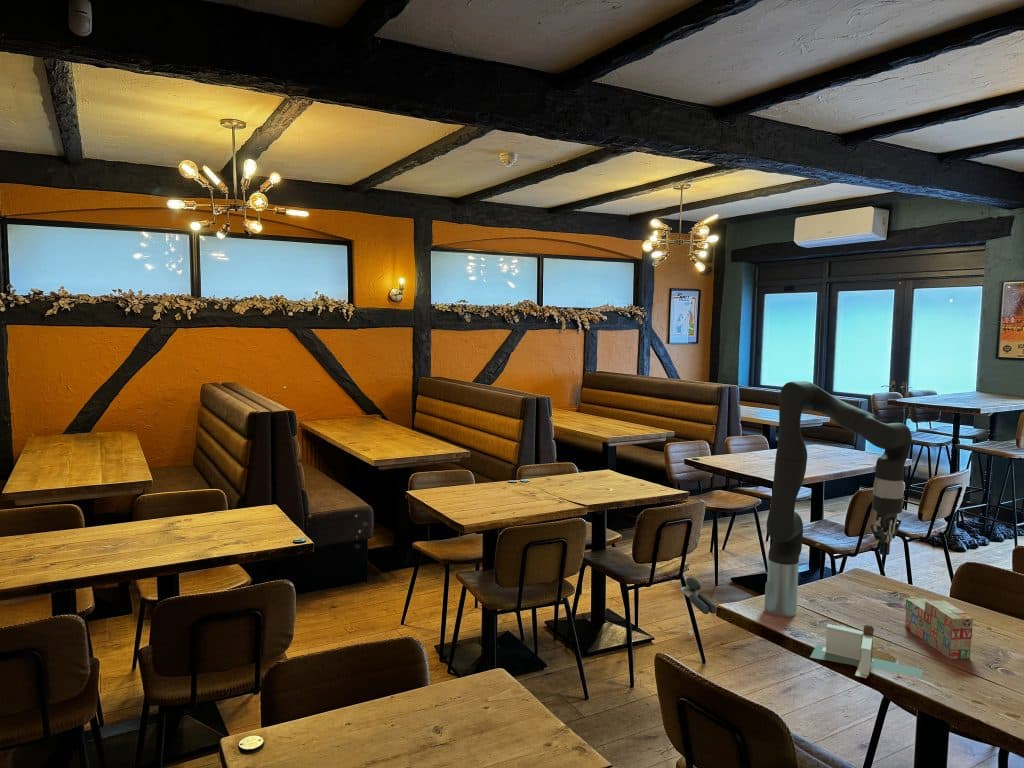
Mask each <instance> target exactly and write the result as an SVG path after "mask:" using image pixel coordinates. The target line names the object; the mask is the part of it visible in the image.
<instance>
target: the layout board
mask: <svg viewBox="0 0 1024 768" xmlns="http://www.w3.org/2000/svg"><path fill="white" fill-rule="evenodd" d="M809 658H811V659H817V660H823V661H829V662H834V663H838V664H846V665H852V666H856V667H857V669H856V671H855V674H854V676H856V677H860V678H864V679H867V677H868V676H867V675H863V674H860V670H861V660H860V659H856V658H852V657H848V656H843V655H839V654H835V653H831V652H827V651H826V645H822V644H816V645H815V647H814V649H813V651H812V653H811V655H810V657H809ZM870 669H874V670H878V671H879V670H880V671H886V672H891V673H897V674H902V675H908V676H913V677H919V678H922V677H923V674H924V669H920V668H917V667H913V666H909V665H905V664H900V663H898V662H894V661H893V662H892V661H888V660H884V659H880V658H876V657H872V661H871V663H870Z"/></svg>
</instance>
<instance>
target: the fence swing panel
mask: <svg viewBox="0 0 1024 768" xmlns="http://www.w3.org/2000/svg"><path fill="white" fill-rule="evenodd" d="M872 640H873V641H874V635H873V636H868V635H863V639H862V646H861V651H862V653H861V670H860V674H863V675H867V677H868V676H869V675H870V669H871V668H870V663H871V647H872Z"/></svg>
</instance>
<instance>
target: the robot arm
mask: <svg viewBox="0 0 1024 768" xmlns="http://www.w3.org/2000/svg"><path fill="white" fill-rule="evenodd" d="M778 401H779V402H778V406H779V407H778V411H779V414H778V416H779V418H778V419H779V420H778V421H779V422H778V433H777V434H778V435H777V447H776V452H775V459H774V460H775V461H774V472H773V474H774V475H773V482H772V483H773V484H772V485H773V486H772V494H771V501H770V505H769V511H768V515H767V518H766V519H767V520H766V524H765V525H766V532H767V534H768V535H769V537H770V538H771V540H772V544H771V546H770V547H769V550H768V555H767V556H768V558H767V559H768V560H767V578H766V579H767V581H766V582H765V584H764V585H765V587H764V607H763V609H764V612H767V613H768V614H770V615H774V616H776V617H780V618H781V617H782V618H791V617H795V616H796V615H797V608H798V605H797V604H798V588H799V587H798V586H799V585H798V584H799V563H800V556H801V552H802V548H803V536H804V523H803V520H802V517H801V515H800V514H798V512H797V511H795V508H796V501H797V498H798V495H799V492H800V490H801V487H802V485H803V483H804V481H805V480H804V479H805V476H806V471H807V464H808V463H807V462H808V451H807V446H806V442H805V441H804V438H803V435H802V432H801V417H802V413H803V412H805V411H812V412H816V413H821V414H823V415H825V416H827V417H829V418H830V419H832V421H834V422H835V424H837V425H838V426H840V427H841V428H843V429H845V430H847V431H849V432H852V433H854V434H856V435H858V436H861V437H862V438H863V439H865V441H867V442H869V443H870V444H871V445H872V446H875V447H877V448H879V449H882V450H884V452H883V454H882V455H881V456H879V457H878V458H877V459H876V463H875V474H874V475H875V476H874V482H873V490H872V501H871V502H872V503H871V509H873V511H876V516H875V523H872V524H871V525H870V529H871V532H872V534H873V537H874V540H876V541H879V549H878V554H879V555H882V556H889V555H890V551H891V550H890V549H891V542H892V541H893V539H895V538H896V536H897V533H898V531H899V528H900V527H901V524H902V520H901V519H899V518H897V517H898V514H901V513H902V512H903V509H904V508H903V504H904V494H905V493H904V492H905V491H904V490H905V485H904V479H905V477H904V475H905V465H906V461H907V459H908V457H909V456H908V455H909V453H910V450H911V445H912V439H913V435H912V432H911V430H910V428H909V427H908V425H906V424H905V423H902V422H891V423H890V422H889V423H884V422H882V421H880V420H879V418H878V417H877V416H876V415H875V414H873V413H871V412H870V411H866V410H864V409H861V408H859V407H857V406H855V405H852V404H850V403H847V402H845V401H843V400H841V399H839V398H837V397H835V396H834V395H832V394H830V393H829V392H827V391H826V390H824V389H822V388H821V387H819V386H818V385H816V384H814V383H813V382H811V381H804V380H802V381H798V380H797V381H789V382H786V383H784V385H783V386H782V387H781V389H780V392H779V400H778Z"/></svg>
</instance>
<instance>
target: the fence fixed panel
mask: <svg viewBox="0 0 1024 768" xmlns="http://www.w3.org/2000/svg"><path fill="white" fill-rule="evenodd" d="M825 628H826V638H825V639H826V640H825V642H826V643H825V646H826V651H827V652H831V653H835V654H839V655H843V656H848V657H852V658H856V659H860V660H861V653H862V651H861V646H862V640H863V634H864V630H858V629H853V628H849V627H845V626H844V627H843V626H840V625H834V624H831V623H827V625H826V627H825Z"/></svg>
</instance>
